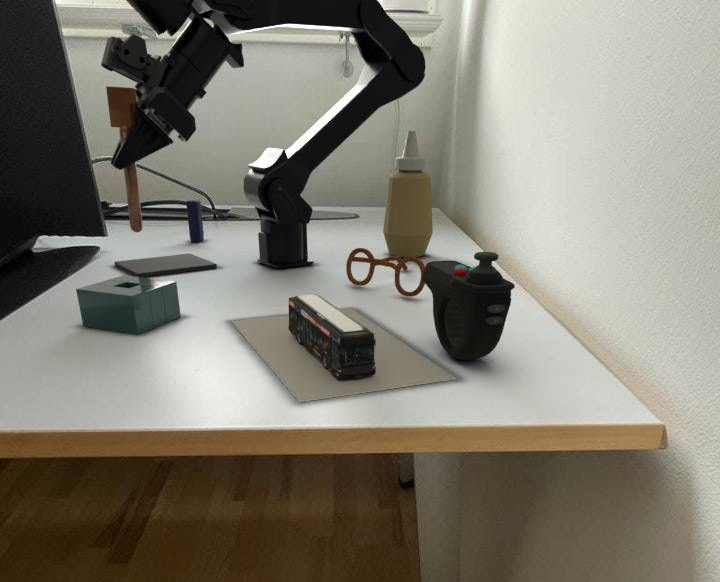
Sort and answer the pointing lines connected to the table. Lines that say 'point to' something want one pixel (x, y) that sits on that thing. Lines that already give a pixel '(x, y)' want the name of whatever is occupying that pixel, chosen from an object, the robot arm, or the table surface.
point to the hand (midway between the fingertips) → (115, 166)
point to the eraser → (195, 220)
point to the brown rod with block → (121, 118)
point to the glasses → (384, 262)
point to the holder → (129, 304)
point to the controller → (468, 305)
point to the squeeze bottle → (408, 204)
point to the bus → (334, 351)
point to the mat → (164, 265)
